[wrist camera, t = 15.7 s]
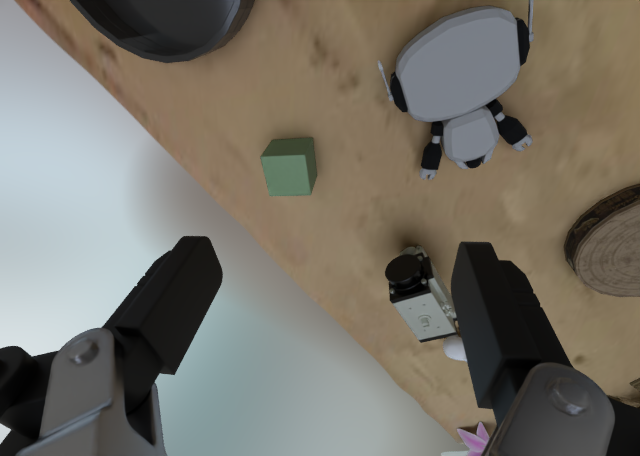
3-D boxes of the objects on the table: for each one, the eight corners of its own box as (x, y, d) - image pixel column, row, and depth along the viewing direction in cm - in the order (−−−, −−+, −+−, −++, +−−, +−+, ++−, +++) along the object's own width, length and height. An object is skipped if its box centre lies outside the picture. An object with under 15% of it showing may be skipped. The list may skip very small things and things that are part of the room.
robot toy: (527, 134, 34) (515, -25, 26) (545, 154, 31) (538, -22, 22) (414, 171, 38) (373, 46, 30) (419, 192, 35) (374, 57, 27)
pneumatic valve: (416, 286, 49) (426, 356, 39) (382, 234, 44) (384, 300, 34) (451, 275, 47) (470, 347, 37) (420, 219, 41) (433, 286, 32)
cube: (272, 139, 38) (260, 156, 34) (312, 137, 37) (305, 154, 33) (279, 176, 41) (269, 196, 37) (317, 175, 40) (311, 195, 36)
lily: (511, 415, 70) (504, 452, 63) (527, 457, 72) (522, 498, 65) (457, 406, 78) (446, 438, 71) (473, 444, 80) (464, 479, 73)
